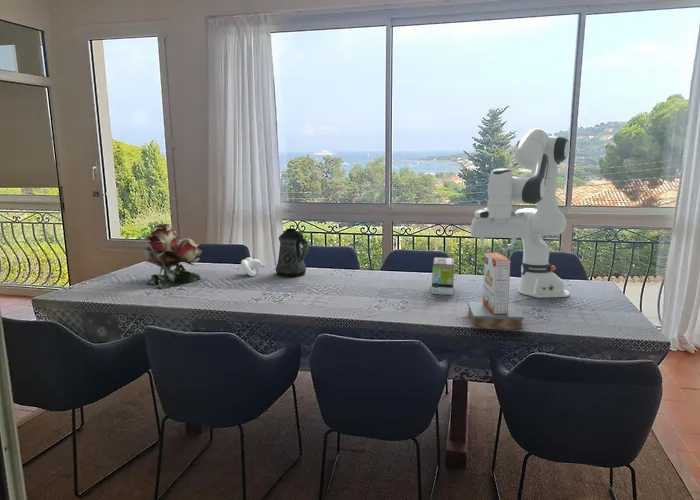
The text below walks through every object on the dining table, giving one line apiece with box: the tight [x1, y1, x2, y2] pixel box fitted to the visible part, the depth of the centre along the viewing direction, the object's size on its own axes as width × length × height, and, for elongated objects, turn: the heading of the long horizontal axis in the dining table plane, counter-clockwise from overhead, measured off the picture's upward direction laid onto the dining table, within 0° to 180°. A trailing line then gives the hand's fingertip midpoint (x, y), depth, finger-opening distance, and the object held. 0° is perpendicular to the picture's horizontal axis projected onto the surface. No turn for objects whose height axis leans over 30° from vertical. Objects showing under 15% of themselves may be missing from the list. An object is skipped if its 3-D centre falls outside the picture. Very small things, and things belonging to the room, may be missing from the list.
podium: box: [467, 301, 525, 330], centre depth 191 cm, size 18×18×5 cm
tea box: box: [431, 257, 455, 296], centre depth 234 cm, size 15×10×15 cm
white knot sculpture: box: [239, 257, 262, 277], centre depth 267 cm, size 11×12×9 cm
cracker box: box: [482, 252, 511, 314], centre depth 189 cm, size 14×6×21 cm, turn 2°
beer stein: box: [275, 227, 310, 279], centre depth 266 cm, size 16×19×25 cm
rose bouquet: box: [143, 223, 203, 290], centre depth 254 cm, size 26×29×30 cm
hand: (497, 249), depth 186 cm, fingers open, 8 cm apart
